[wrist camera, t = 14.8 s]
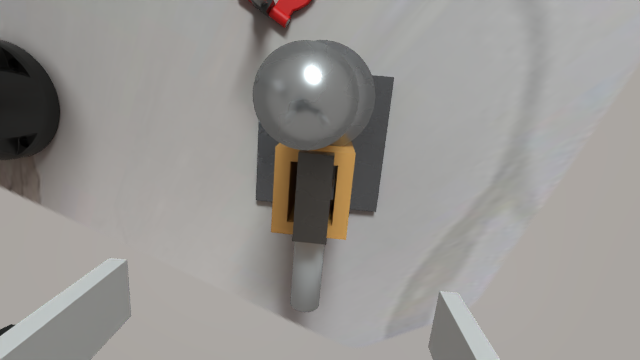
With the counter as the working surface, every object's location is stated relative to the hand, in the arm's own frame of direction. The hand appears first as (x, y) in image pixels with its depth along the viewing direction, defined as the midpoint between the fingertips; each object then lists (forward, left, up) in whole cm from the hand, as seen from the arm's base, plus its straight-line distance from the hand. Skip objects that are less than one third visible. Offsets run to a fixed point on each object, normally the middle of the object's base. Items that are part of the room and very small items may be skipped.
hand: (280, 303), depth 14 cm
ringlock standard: (0, +4, -30) cm, 31 cm away
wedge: (0, 0, -28) cm, 28 cm away
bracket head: (0, -5, -24) cm, 25 cm away
